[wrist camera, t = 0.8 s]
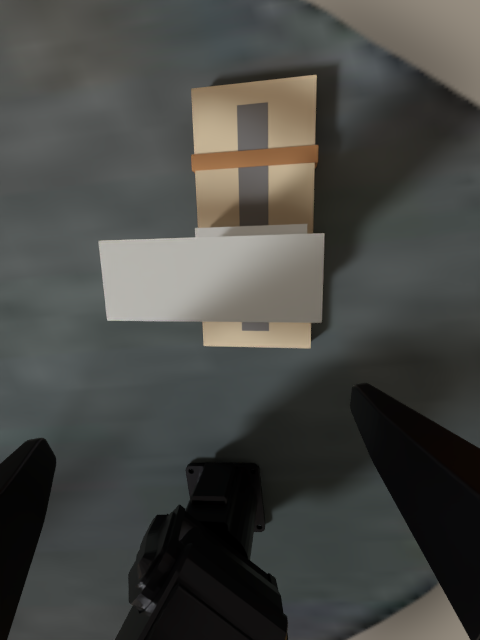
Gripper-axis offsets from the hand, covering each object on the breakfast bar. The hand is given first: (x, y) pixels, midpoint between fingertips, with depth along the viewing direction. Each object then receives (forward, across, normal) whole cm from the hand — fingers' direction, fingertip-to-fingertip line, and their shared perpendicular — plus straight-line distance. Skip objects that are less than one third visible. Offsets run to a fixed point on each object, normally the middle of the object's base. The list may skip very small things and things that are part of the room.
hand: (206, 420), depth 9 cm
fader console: (+16, -5, -1) cm, 17 cm away
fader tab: (+14, -4, +1) cm, 15 cm away
